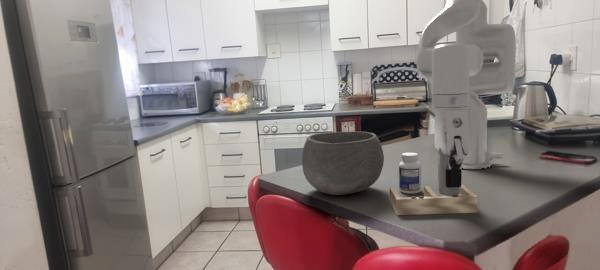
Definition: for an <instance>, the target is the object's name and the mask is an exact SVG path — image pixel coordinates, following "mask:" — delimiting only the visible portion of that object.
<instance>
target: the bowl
mask: <svg viewBox="0 0 600 270" xmlns="http://www.w3.org/2000/svg"><path fill="white" fill-rule="evenodd" d="M301 156H302V157H301V161H302V162H301V165H302V173H303V175H304V177H305V179H306V181H307V182H308V184H309V185H311V186H312V187H313V188H314V189H315V190H316V191H319V192H320V193H323V194H328V195H333V196H342V195H352V194H355V193H358V192H362V191H364V190H366V189H369V188H370V187H371V186H373V185H374V184H375V183H376V182H377V181H378V179H379V178H380V176H381V174H382V170H383V168H384V167H383V166H384V164H385V163H384V161H385V154H384V150H383V146H382V143H381V140H380V139H379V138H378V136H377V135H376V134H375V133H374V132H368V131H334V132H333V131H332V132H318V133H314V134H311V135H308V136H307V138H306V139H305V143H304V144H303V149H302V154H301Z"/></svg>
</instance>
